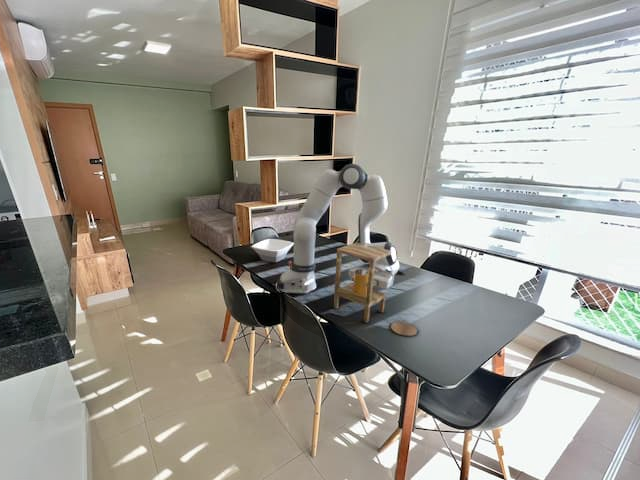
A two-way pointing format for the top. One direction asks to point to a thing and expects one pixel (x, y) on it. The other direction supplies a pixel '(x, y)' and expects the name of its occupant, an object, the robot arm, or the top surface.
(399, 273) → the spatula
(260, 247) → the bowl
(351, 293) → the rack
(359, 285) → the cup
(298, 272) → the robot arm
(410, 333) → the coaster
